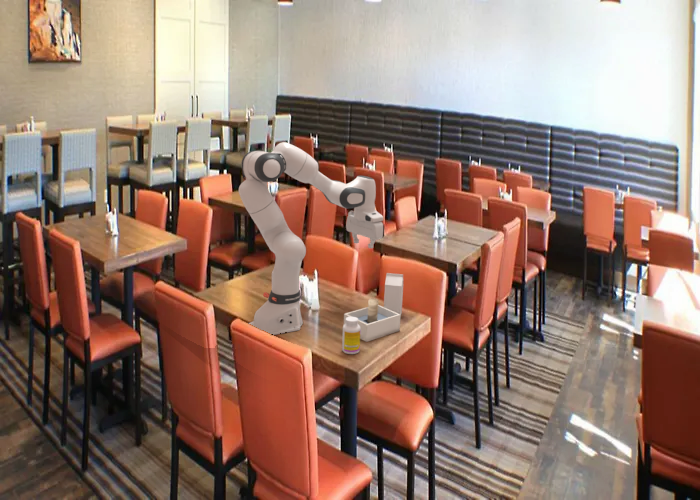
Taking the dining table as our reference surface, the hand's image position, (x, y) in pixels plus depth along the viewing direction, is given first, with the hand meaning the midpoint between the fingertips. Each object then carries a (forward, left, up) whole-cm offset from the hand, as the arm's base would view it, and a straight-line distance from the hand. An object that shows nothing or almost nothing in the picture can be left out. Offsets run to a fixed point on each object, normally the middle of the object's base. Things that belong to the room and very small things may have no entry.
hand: (363, 245), depth 251 cm
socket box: (-12, -20, -29) cm, 38 cm away
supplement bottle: (-31, -30, -29) cm, 52 cm away
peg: (-12, -20, -28) cm, 37 cm away
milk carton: (+6, -14, -29) cm, 33 cm away
